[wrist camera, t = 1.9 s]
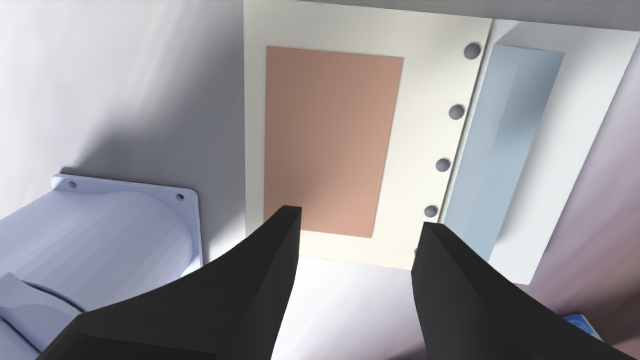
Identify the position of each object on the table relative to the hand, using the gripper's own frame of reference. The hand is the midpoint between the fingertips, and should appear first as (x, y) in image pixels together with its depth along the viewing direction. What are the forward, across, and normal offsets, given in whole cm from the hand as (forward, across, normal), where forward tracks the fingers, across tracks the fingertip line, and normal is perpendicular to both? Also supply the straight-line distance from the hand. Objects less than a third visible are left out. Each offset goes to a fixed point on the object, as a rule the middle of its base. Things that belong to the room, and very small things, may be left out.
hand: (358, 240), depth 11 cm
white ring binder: (+9, 0, 0) cm, 9 cm away
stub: (+9, -8, 0) cm, 13 cm away
